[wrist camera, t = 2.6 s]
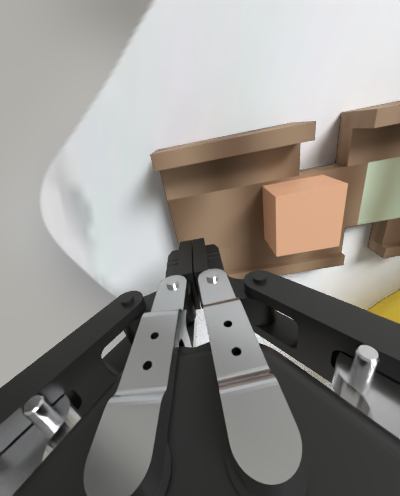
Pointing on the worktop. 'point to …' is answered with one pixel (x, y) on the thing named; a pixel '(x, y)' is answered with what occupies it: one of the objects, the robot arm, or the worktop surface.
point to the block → (303, 214)
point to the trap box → (276, 171)
